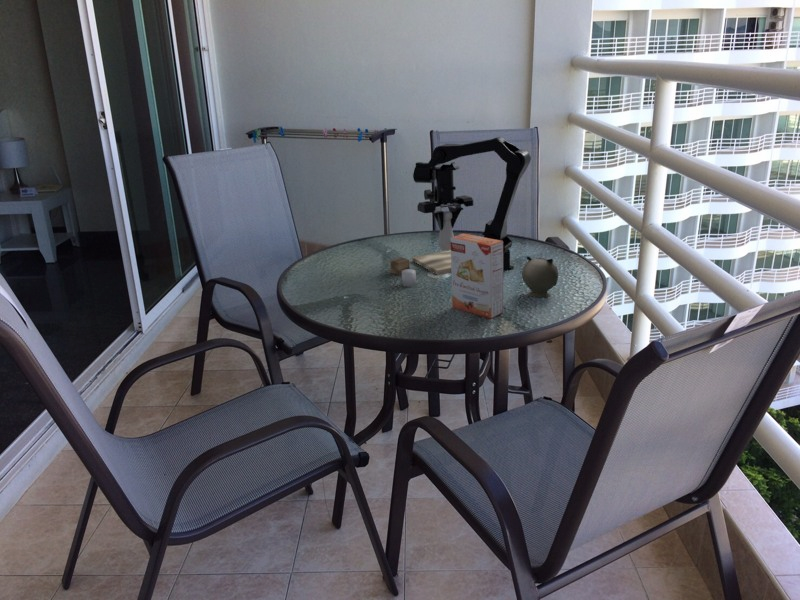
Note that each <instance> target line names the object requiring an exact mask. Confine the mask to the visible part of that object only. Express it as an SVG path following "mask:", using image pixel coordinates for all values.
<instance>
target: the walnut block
mask: <svg viewBox="0 0 800 600" xmlns="http://www.w3.org/2000/svg"><path fill="white" fill-rule="evenodd" d="M389 263H390V274H393V273H394V275H396V274H397V276H399V275H400V276H402V271H403V270H406V269H411V268H410V266H411V265H410V259H408V258H404V257H400V256H399V257H397V258H393V259H390V262H389Z"/></svg>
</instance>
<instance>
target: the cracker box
mask: <svg viewBox="0 0 800 600" xmlns="http://www.w3.org/2000/svg"><path fill="white" fill-rule="evenodd" d="M450 239H451V272H450V273H451V301H452V302H451V303H452V304H451V305H452V308H453V309H457V310H460V311H462V312H463V311H464V312H467V313H470V314H473V315H477V316H480V317H484V318H487V319H490V320H491V319H493V318H495V317H497V316H499V315H501V314H503V313H504V271H503V241H501V240H495V239H490V238H485V237H484V236H479V235H475V234H469V233H459V234H458V235H454V237H451V238H450Z"/></svg>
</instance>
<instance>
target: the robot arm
mask: <svg viewBox="0 0 800 600" xmlns="http://www.w3.org/2000/svg"><path fill="white" fill-rule="evenodd" d="M489 152H494V153H495V154H497V156H498V157H499V158H500V159H501V160H503V162H505V163H506V165H505V166H506V167H505V181H504V184H503V187H502V191H501V194H500V198H499V200H498V203H497V208H496V210H495V214H494V216H493V219H491V220H489V221H488V222H487V223H485V226H484V231H483V233H482V236H483V237H485V238H490V239H495V240H501V241H503V272H504V271H508V270H513V269H514V268H515V267H514V266H513V265H511V251H510V248H512V246H513V243H514V242H513V240H512V239H511V238H510V237H509V236H508V235H507V231H508V218H509V215H510V211H511V208H512V205H513V203H514V200H515V197H516V193H517V189H518V186H519V183H520V181H521V179H522V178H523V176H524V174H525V173H526V172H527V169H528V167H529V165H530V163H531V161H532V160H531V159H532V158H531V157H532V156H531V155H530V153H529V152H528V150H526V149H520V148H519V147H518V146H516V145H514V144H513V143H511V142H509V141H508V140H506V139H504V138H503V137H501V136H496V137H494V138H488V139H484V140H479V141H475V142H474V141H473V142H469V143H462V144H461V143H444V144H441V145H438V146H436V147H435V148H434V149H433V151H432V157H431V158H430V160H429V161H428V162H423V161H417V162H415V166H414V168H413V169H414V170H413V173H412V177H413V181H414V182H415V183H416V184H420V183H421V184H433V183H434V181H435V183H436V185H434V187H433V189H434V190H432V189H425V190H424V191H423V196H424V200H425V201H420V202H418V204H417V212H420V213H423V214H432V215H433V216H434V218H435V220H436V222H437V225H438V227H439V231H440V230H442V229H443V217H444V211H442V209H443V208H448V211H449V212H451V213H452V219H451V225H452V229H453V228H454V227H455V224H456V222H457V219H458V217H459V216H460V213H461V212H462V211H463V210H464V207H467V208H468V207H473V206H474V199H473V197H471V196H469V195H460V196H455V190H456V188H457V187H456V186H455V185H454V171H457V170H459V169H460V166H459V165H457V164H456V163H455V162H454V161H453V160H456V159H458V158H462V157H467V156H473V155H477V154H483V153H484V154H485V153H489ZM452 161H453V162H452ZM449 162H450V164H448V163H449ZM440 165H441V166H440ZM428 200H429V201H428ZM462 205H463V206H464V207H462Z"/></svg>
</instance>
